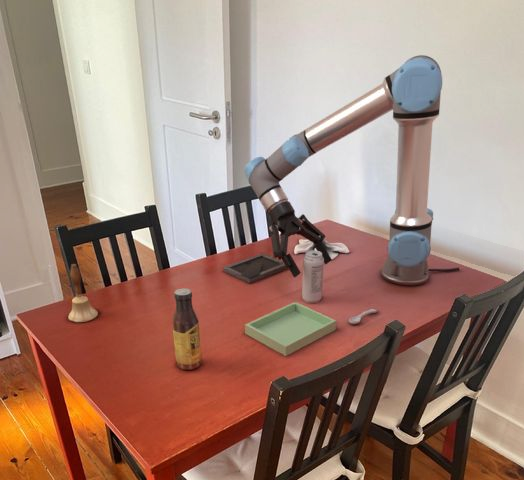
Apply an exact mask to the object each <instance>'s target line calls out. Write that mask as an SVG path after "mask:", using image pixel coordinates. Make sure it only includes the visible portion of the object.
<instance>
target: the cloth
mask: <svg viewBox="0 0 524 480" xmlns="http://www.w3.org/2000/svg"><path fill="white" fill-rule="evenodd" d="M298 243H299V244H297V245H295V246H294V251H293V252H294V255H298V254H304V253H305V254H306V252H307V251H312V250H315V251H317V250H316V248H315V245H316V244H314V243H313V242H311V241H309V240H308V239H298ZM323 243H324V245H325V247H326V249H327V252H328V254H329V256H330V258H331V259H332V260H334V259H335V258H337V257H338V255H339V253H341V254H349V253H350V252H351V251H350V249H349V248H348V247H347V245H346V244H345V243H344V242H329V241H327V240H326V239H325V238H324V240H323Z"/></svg>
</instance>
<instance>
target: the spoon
mask: <svg viewBox="0 0 524 480" xmlns="http://www.w3.org/2000/svg"><path fill="white" fill-rule="evenodd" d="M377 313H378V310H377V309H375V308H370V309H368V310H365V311H363V312H361V313H359V314H358V315H355V316H350V317H349V318H348V323H349V324H351V325H358V324H359V323H360V322H361V319H362V318H363V317H365V316H367V315H370V314H377Z"/></svg>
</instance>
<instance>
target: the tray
mask: <svg viewBox="0 0 524 480" xmlns="http://www.w3.org/2000/svg"><path fill="white" fill-rule="evenodd" d="M244 328H245V329H244V331H245V332H244V333H245V335H247V336H248V337H250V338H252V339H253V340H256V341H257V342H259V343H261V344H263V345H264V346H266V347H268V348H270V349H271V350H274V351H275V352H277V353H279V354H281V355H283V356H284V357H288V356H289V355H291V354H292V353H294V352H297V351H298V350H300V349H302V348H304V347H305V346H308V345H309V344H312V343H313V342H315V341H318V340H319V339H320V338H321V339H322V338H323V337H325V336H327V335H328V334H331V333H332V332H334V331H335V330H336V329H337V320H336V319H334V318H332V317H330V316H328V315H325V314H323V313H320V312H319V311H317V310H314V309H312V308H310V307H307V306H306V305H304V304H302V303H299V302H297V301H294V302H291V303H289V304H287V305H285V306H283V307H281V308H277V309H276V310H274V311H271V312H269V313H268V314H265V315H263V316H261V317H259V318H256V319H253V320H252V321H250V322H248V323H245V324H244Z"/></svg>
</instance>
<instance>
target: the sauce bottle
mask: <svg viewBox="0 0 524 480" xmlns="http://www.w3.org/2000/svg"><path fill="white" fill-rule="evenodd" d="M173 293H174V295H173V296H174V300H175V309H176V310H175V311H174V313H173V315H172V333H173V343H174V353H175V360H176V365H177V368H179V369H180V370H185V371H192V370H195V369H197V368H198V367H200V366H201V364H202V349H201V334H200V323H199V321H200V320H199V318H198V316H197V314H196V312H195V310H194V307H193V306H194V305H193V301H192V299H193V291H192V290H191V289H190V288H186V287H183V288H177V289H176V290H174V292H173Z"/></svg>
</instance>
